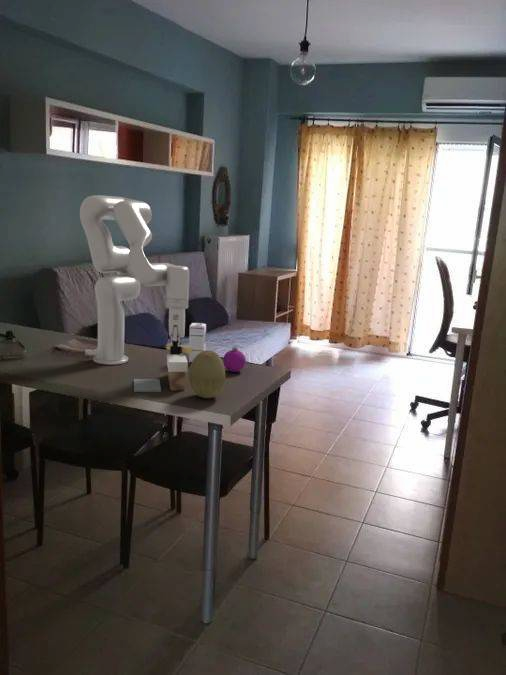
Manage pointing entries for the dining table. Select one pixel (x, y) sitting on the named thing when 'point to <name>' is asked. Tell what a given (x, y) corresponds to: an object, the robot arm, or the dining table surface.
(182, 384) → the housing
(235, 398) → the dining table surface
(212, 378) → the fruit
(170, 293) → the robot arm
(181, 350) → the golden rectangular block
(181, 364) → the cover
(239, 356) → the christmas ornament
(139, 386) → the mat
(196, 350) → the syrup box
